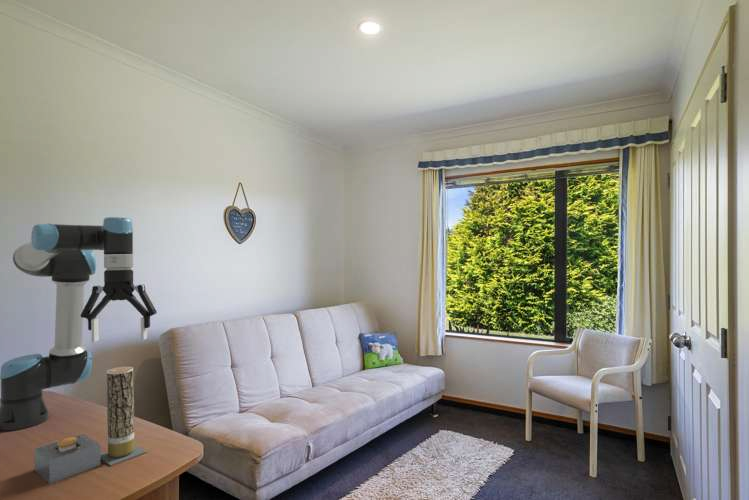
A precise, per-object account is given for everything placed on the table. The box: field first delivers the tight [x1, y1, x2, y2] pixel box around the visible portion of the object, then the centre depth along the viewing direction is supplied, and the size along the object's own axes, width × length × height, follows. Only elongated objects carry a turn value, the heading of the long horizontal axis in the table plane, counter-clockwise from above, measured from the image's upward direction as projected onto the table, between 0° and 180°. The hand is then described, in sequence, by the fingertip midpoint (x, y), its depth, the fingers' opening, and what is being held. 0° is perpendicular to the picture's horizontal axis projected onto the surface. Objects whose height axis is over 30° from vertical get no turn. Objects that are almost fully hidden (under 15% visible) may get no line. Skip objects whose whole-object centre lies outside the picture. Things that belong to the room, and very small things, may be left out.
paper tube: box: [106, 366, 135, 458], centre depth 129 cm, size 7×7×25 cm
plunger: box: [57, 436, 77, 452], centre depth 121 cm, size 5×5×7 cm
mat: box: [100, 444, 148, 467], centre depth 129 cm, size 10×10×1 cm
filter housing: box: [33, 433, 101, 485], centre depth 121 cm, size 12×12×6 cm
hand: (119, 340), depth 129 cm, fingers open, 13 cm apart
